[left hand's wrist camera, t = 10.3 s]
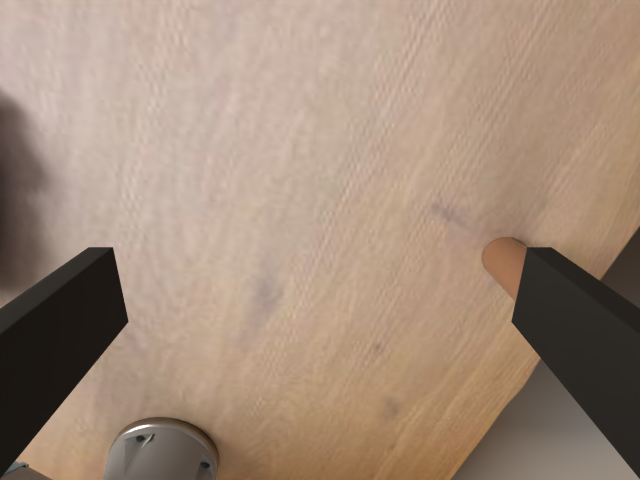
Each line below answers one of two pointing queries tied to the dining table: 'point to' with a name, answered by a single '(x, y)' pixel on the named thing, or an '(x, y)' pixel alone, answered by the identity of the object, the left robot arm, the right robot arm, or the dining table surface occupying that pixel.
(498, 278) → the bottle
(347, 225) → the dining table surface
